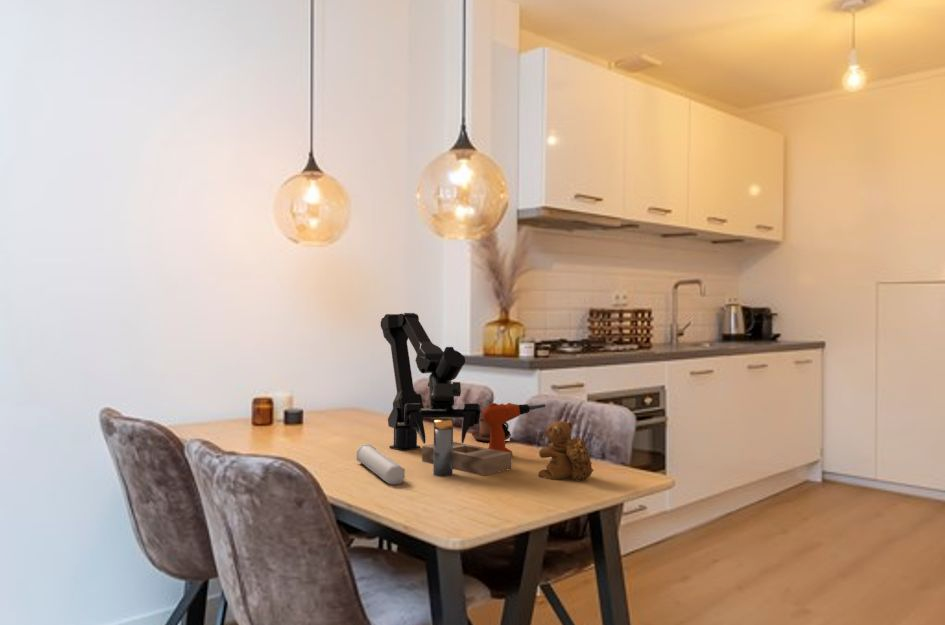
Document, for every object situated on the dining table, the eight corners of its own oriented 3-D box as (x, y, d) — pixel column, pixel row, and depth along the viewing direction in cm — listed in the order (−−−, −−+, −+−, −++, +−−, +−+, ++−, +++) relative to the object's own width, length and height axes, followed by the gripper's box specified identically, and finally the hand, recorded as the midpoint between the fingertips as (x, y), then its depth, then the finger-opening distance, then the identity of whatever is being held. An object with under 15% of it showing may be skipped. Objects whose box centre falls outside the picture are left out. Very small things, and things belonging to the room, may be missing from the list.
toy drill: (553, 450, 188) (547, 396, 188) (488, 462, 183) (481, 406, 183) (546, 446, 193) (541, 393, 192) (482, 458, 188) (476, 404, 187)
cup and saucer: (488, 435, 219) (488, 416, 219) (518, 440, 212) (518, 420, 212) (463, 440, 210) (463, 420, 210) (494, 445, 202) (494, 424, 202)
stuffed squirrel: (558, 469, 172) (559, 416, 172) (604, 479, 162) (605, 423, 162) (531, 475, 165) (532, 420, 165) (577, 486, 155) (578, 428, 155)
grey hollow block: (422, 461, 179) (422, 445, 179) (449, 455, 187) (449, 440, 187) (484, 475, 164) (484, 458, 164) (511, 469, 171) (511, 453, 171)
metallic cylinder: (429, 474, 165) (429, 420, 165) (443, 471, 169) (443, 418, 169) (442, 477, 162) (443, 422, 162) (456, 474, 165) (457, 420, 165)
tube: (411, 467, 155) (378, 446, 178) (390, 462, 153) (359, 441, 176) (404, 491, 155) (372, 466, 177) (382, 485, 152) (353, 461, 175)
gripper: (404, 370, 169) (405, 422, 158) (479, 370, 172) (485, 421, 161) (404, 399, 177) (404, 450, 166) (475, 398, 179) (480, 449, 168)
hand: (443, 442), depth 165 cm, fingers open, 9 cm apart
